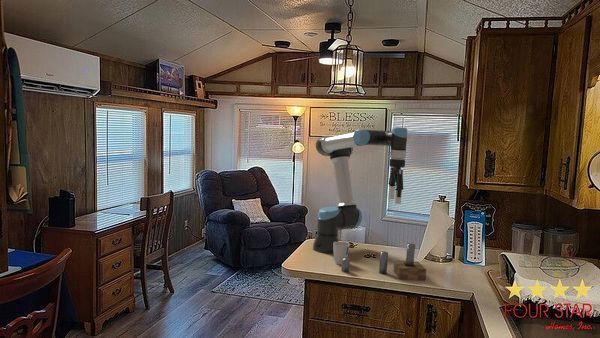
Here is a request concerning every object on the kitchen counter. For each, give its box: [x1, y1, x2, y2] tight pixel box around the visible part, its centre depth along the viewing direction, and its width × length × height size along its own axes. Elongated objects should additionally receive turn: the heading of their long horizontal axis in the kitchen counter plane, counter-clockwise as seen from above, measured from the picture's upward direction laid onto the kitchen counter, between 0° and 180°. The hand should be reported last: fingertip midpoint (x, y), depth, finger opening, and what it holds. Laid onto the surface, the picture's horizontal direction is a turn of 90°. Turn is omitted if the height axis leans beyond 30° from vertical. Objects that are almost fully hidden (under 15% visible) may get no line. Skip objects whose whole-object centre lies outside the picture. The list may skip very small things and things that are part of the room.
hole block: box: [392, 260, 427, 281], centre depth 204 cm, size 12×12×5 cm
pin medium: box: [378, 251, 389, 275], centre depth 206 cm, size 4×4×10 cm
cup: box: [333, 241, 350, 266], centre depth 217 cm, size 8×8×10 cm
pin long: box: [405, 242, 416, 267], centre depth 204 cm, size 4×4×15 cm
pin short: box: [340, 257, 351, 273], centre depth 205 cm, size 4×4×6 cm
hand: (394, 201), depth 215 cm, fingers open, 13 cm apart
